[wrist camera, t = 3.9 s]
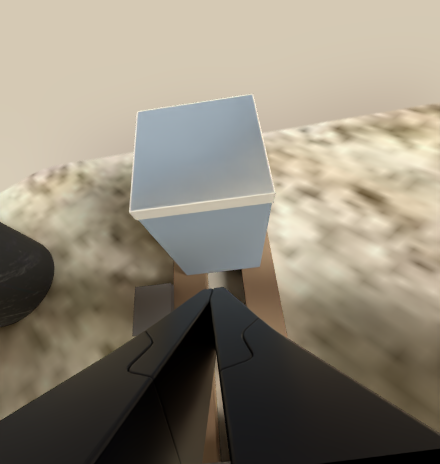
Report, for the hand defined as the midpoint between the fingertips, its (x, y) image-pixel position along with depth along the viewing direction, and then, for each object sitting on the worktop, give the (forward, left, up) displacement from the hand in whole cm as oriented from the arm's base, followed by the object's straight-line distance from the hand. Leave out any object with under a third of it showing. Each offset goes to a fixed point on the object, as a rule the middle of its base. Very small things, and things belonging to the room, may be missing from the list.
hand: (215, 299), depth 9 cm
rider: (+5, +2, -9) cm, 10 cm away
